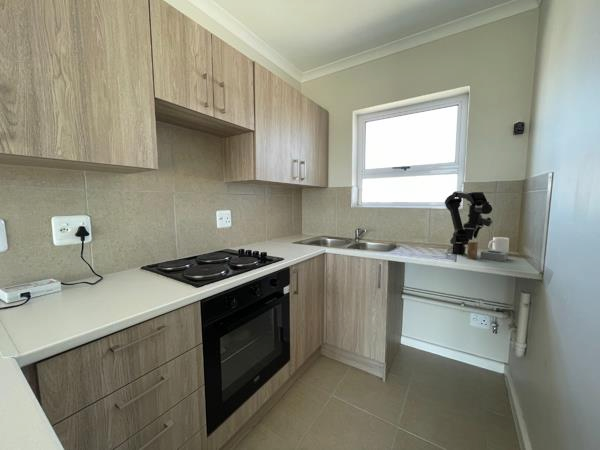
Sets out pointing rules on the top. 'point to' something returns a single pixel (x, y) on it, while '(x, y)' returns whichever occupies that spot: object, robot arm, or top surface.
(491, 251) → the well block
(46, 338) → the top surface
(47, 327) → the top surface
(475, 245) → the walnut post
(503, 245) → the mug
